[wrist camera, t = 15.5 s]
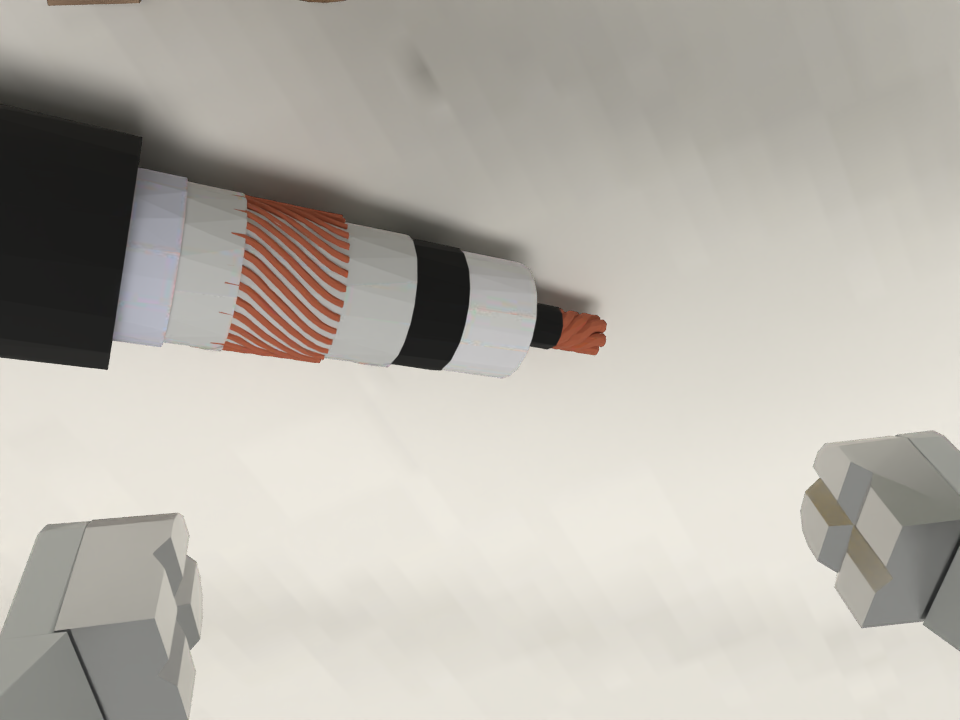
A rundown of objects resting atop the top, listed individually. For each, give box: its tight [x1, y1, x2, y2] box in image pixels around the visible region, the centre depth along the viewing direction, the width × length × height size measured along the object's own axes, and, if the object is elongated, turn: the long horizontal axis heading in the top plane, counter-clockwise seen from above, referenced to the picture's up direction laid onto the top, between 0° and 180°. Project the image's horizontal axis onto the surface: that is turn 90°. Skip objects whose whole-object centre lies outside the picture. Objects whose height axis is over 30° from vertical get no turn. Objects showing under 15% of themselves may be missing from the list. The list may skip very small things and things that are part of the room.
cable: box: [0, 104, 607, 378], centre depth 38 cm, size 10×34×10 cm, turn 67°
